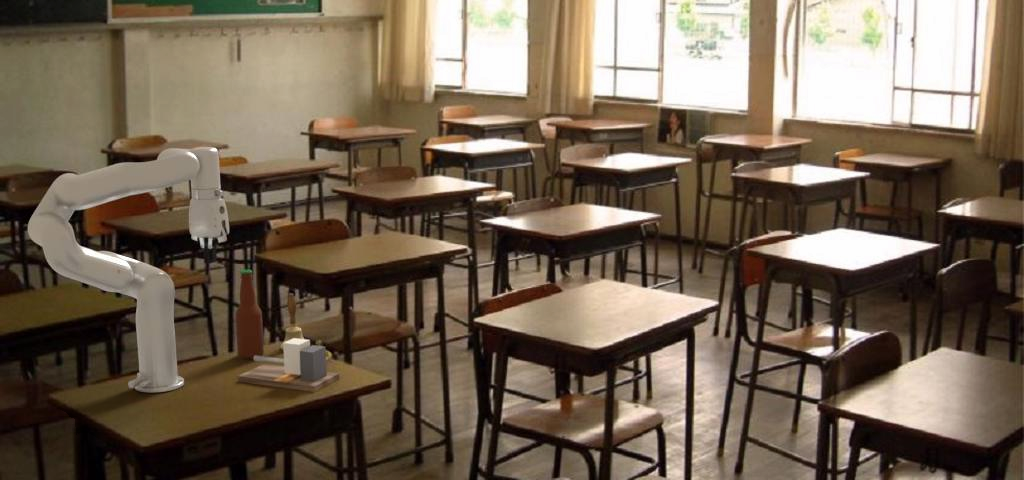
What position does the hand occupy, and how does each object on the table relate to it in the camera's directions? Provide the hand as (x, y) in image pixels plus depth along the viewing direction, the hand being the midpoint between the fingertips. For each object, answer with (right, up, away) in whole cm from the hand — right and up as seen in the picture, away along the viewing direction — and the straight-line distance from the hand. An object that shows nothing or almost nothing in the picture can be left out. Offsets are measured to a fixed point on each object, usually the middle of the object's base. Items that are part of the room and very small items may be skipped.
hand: (210, 262), depth 332 cm
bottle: (+6, -27, +23) cm, 36 cm away
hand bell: (+17, -25, +32) cm, 44 cm away
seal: (+25, -28, +20) cm, 42 cm away
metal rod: (+19, -27, 0) cm, 33 cm away
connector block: (+28, -30, -3) cm, 42 cm away
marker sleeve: (+24, -29, -2) cm, 37 cm away
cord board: (+21, -31, 0) cm, 38 cm away
